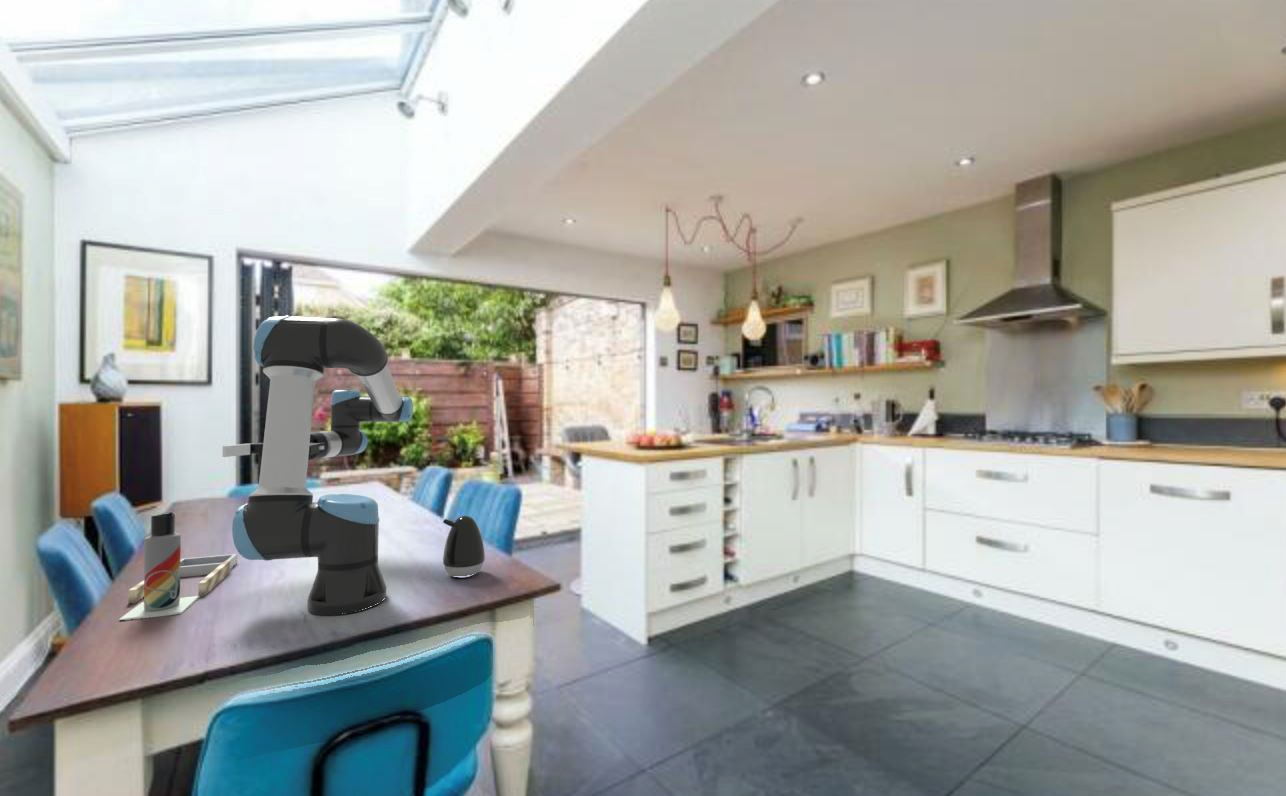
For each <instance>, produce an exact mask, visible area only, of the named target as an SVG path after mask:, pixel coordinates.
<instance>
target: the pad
mask: <svg viewBox="0 0 1286 796" xmlns="http://www.w3.org/2000/svg"><path fill="white" fill-rule="evenodd" d="M200 597H201V596H198V595H193V596H186V597H180V602H179V604H178V605H177V606H175V607H172V608H169V609H166V610H161V611H145V610H144V601H142V602H140V603H139V604H138V605H136V606H135V607H134V608H132V609H131V610H129V611H128V612H126V613H125V614H124V615H122V616H121V617H120V618H118V621H119V620H125V621H132V620H131V619H133V620H139V619H140V620H141V618H142V619H149V617H150V618H157V617H158V618H159V617H165V616H173V615H181V614H183V613H184V612H186V611H187V610H188V609H189V607H191V606H193V605H194V603H196V601H197V600H199V599H200Z"/></svg>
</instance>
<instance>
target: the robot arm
mask: <svg viewBox="0 0 1286 796" xmlns="http://www.w3.org/2000/svg"><path fill="white" fill-rule="evenodd" d="M252 350H253V351H254V352H253V356H254V357H253V358H254V359H255V361H256V363H257V364H258V365H259V366H260V367H263V368H262V372H263V374H265V376H266V377H267V378H268V379H269V390H268V399H267V406H266V407H267V408H266V416H265V427H264V436H263V442H253V443H247V442H244V443H241V444H239V443H238V444H230V445H229V444H228V445H222V455H221V456H222V457H223V458H227V457H228V458H229V457H238V456H245V457H246V458H248V457H249V456H250V455H251V454H252V455H253V454H261V461H260V462H261V463H260V472H259V479H258V480H259V482H258V487H257V488H256V489H254V491H252V492H251V493H250V494H249V495H248V501H247V503H245V504H243V505H240V506H238V508H237V509H236V511H235V515H233V519H232V525H231V531H232V532H231V533H232V540H233V545H234V547H235V549H236V551H237V552H238V554H239V556H241V557H242V558H244V559H245V560H246V559H247V560H249V561H255V560H256V561H267V562H268V561H273V560H287V559H304V558H317V573H316V575H315V578H314V581H313V583H312V586H311V589H310V592H309V594H308V597H307V611H308V612H310V613H312V614H314V615H320V616H337V615H336V614H341V615H345V614H344V613H348V614H352V613H351V612H354V613H356V612H355V611H358V612H360V611H359V610H362V609H365V608H368V607H370V606H373V605H375V604H377V603H379V602H381V601H382V600H383V599H384V598H385V597H386V598H387V586H386V583H385V580H384V577H383V573H382V571H381V568H380V565H379V523H380V517H379V505H378V503H377V500H375V499H373V498H371V497H368V496H365V495H358V494H347V493H346V494H345V493H339V494H336V493H335V494H332V493H331V494H324V495H322V496H320V497H319V499H318V500H317V502H316V501H315V502H313V498H314V494H313V493H312V492H311V491H310V490H309V489H308V488H307V478H308V477H307V476H308V465H309V461H314V460H320V459H324V460H325V461H328V460H329V458H337V457H346V456H352V455H357V454H360V453H363V452H364V451H365V450H366V448H367V446H368V443H369V442H368V441H369V440H368V437H367V435H366V432H364V430H361V425H360V424H361V423H369V422H370V423H371V422H372V423H390V422H391V423H402V422H409V421H411V420H412V418H413V414H414V403H413V399H412V398H411V397H409V396H408V397H407V396H401V394H400V391H399V389H398V387H397V386H396V385H397V384H396V383H395V380H394V378H393V376H392V373H391V371H390V368H389V366H388V362H389V357H388V353H387V350H386V349H385V346H384V345H383V344H382V342H381V341H380V340H379V338H378V337H376V336H375V335H374V334H373V333H372V332H371V331H369V330H368V329H366V328H365V327H363V326H362V325H360V324H357V323H356V322H354V321H351V320H349V319H345V318H340V317H339V318H338V317H337V318H335V317H334V318H333V317H332V318H331V317H330V318H329V317H328V318H327V317H309V316H308V317H307V316H293V315H284V316H270V317H267V318H266V319H265V320H263V321H261V323H260V324H259V326H258V328H257V329H256V333H255V335H254V339H253V349H252ZM325 369H346V370H347V369H348V371H349V372H350V373H352V374H353V375H355V376H357V377H358V379H359V381H360V383H361V385H362V387H363V388H364V390H365V392H366V394H367V396H363V395H361V392H360V390H356V389H355V390H354V389H352V390H349V389H348V390H347V389H335V390H333V391H332V393H331V397H330V398H331V401H330V405H329V406H330V430H329V431H328V430H326V431H325V430H324V431H313V432H312V422H313V421H312V420H313V411H314V410H313V409H314V399H315V389H316V387H315V386H316V383H317V382H319V381H320V380H321V379H323V378H324V373H325V371H324V370H325ZM362 611H363V610H362ZM342 613H343V614H342Z"/></svg>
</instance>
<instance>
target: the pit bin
mask: <svg viewBox="0 0 1286 796" xmlns="http://www.w3.org/2000/svg"><path fill="white" fill-rule="evenodd" d="M224 561H230V570H232V569H233V566H234V565H235V566H236V565H237V564H238V553H232V554H220V555H211V556H198V557H197V556H196V557H185V558H180V578H186V577H196V576H198V577H199V576H208V575H209V574H210V573H211V572H212V571H214V570H215V569H216V568H217V567H218V566H219V565H221V564H222V563H223V562H224ZM235 566H234V567H235Z"/></svg>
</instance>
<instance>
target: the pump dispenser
mask: <svg viewBox="0 0 1286 796" xmlns="http://www.w3.org/2000/svg"><path fill="white" fill-rule="evenodd" d="M442 522H443V524H445V525H447V526H449V527H450V530H449V532H448V535H447V538H446V541H445V543H444V544H445V545H444V549H443V555H442V556H443V557H442V564H443V566H444V569H445V571H446V573H447V574H448V575H449V576H450V575H451V576H450V577H452V576H467V575H472V574H475V573H477V572H478V573H479V572H480V571H481V569H482V567H483V566H484V563H485V559H486V552H485V545H484V540H483V537H482V533H481V530H480V528H479V526H478V523H477V521H476V520H475V519H474V518H473V517H472V516H469V515H462V516H459V517H457V518H456V519H455V520H454V521H452V520H450V519H447V518H444V519H443V521H442ZM478 573H477V574H478Z"/></svg>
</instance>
